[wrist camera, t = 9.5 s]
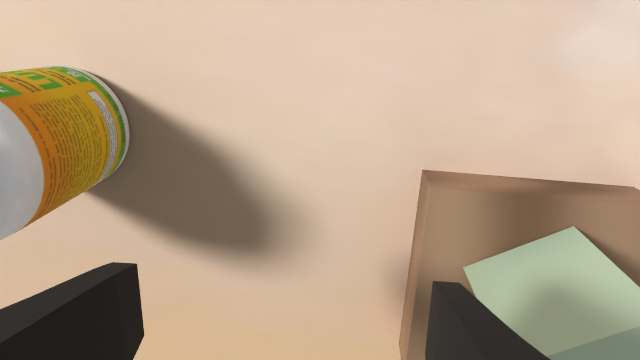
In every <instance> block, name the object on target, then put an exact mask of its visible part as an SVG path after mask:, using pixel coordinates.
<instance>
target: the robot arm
mask: <svg viewBox="0 0 640 360" xmlns="http://www.w3.org/2000/svg"><path fill="white" fill-rule="evenodd" d="M143 337H144V328H143V318H142V309H141V299H140V289H139V280H138V270H137V264H132V263H115V262H113V263H109V264H106V265H103V266H100V267H98V268H95V269H93V270H90V271H88V272H86V273H83V274H81V275H79V276H77V277H74V278H72V279H70V280H68V281H65V282H63V283H61V284H59V285H56V286H54V287H52V288H50V289H47V290H45V291H43V292H41V293H38V294H36V295H34V296H32V297H29V298H27V299H24V300H22V301H19V302H17V303H15V304H12V305H10V306H7V307H5V308H2V309H0V360H133V358H134V356H135V354H136V352H137V350H138V348H139V345H140V343H141V341H142V339H143ZM425 359H426V360H551V359H549V358H548V357H546V356H545V355H544V354H542V353H541V352H540V351H538V350H537V349H536V348H535V347H533V346H532V345H531V344H529V343H528V342H527V341H525V340H524V339H523V338H522V337H520V336H519V335H518V334H517V333H516V332H514V331H513V330H512V329H511V328H510V327H508V326H507V325H506V324H505V323H504V322H503V321H501V320H500V319H499V318H498V317H497V316H496V315H495V314H494V313H492V312H491V311H490V310H489V309H488V308H487V307H486V306H485V305H484V304H483V303H481V302H480V301H479V300H478V299H477V298H476V297H475V296H474V295H473V294H472V293H471V292H470V291H468V290H467V289H466V288H465V287H464V286H463V285H462V284H460V283H459V282H442V281H433V283H432V293H431V302H430V311H429V321H428V330H427V339H426V349H425Z"/></svg>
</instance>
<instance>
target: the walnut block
mask: <svg viewBox="0 0 640 360" xmlns="http://www.w3.org/2000/svg"><path fill="white" fill-rule="evenodd" d="M573 226H574V227H575V228H576V229H577V230H579V231H580V232H581V233H582V234H583V235H584V236H585V237H586V238H587V239H588V240H589V241H590V242H591V243H592V244H594V245H595V246H596V247H597V248H598V249H599V250H600V251H601V252H602V253H603V254H604V255H605V256H606V257H607V258H609V259H610V260H611V261H612V262H613V263H614V264H615V265H616V266H617V267H618V268H619V269H620V270H621V271H622V272H624V273H625V274H626V275H627V276H628V277H629V278H630V279H631V280H632V281H633V282H634V283H635V284H636V285H637V286H639V287H640V190H638V189H636V188H634V187H627V186H615V185H602V184H590V183H578V182H565V181H553V180H541V179H529V178H516V177H504V176H492V175H480V174H467V173H455V172H443V171H430V170H422V177H421V184H420V192H419V199H418V206H417V214H416V221H415V229H414V236H413V243H412V251H411V258H410V266H409V273H408V281H407V288H406V295H405V303H404V310H403V318H402V325H401V333H400V340H399V346H400V354H401V360H426V359H425V349H426V339H427V330H428V321H429V311H430V302H431V293H432V283H433V281H442V282H459V283H460V284H462V285H463V286H464V287H465V288H466V289H467V290H468V291H470V292H471V293H472V294H473V295H474V296H475V294H474V292H473V289H472V287H471V285H470V283H469V280H468V278H467V276H466V273H465V271H464V269H463V267H466V266H468V265H471V264H474V263H476V262H479V261H482V260H484V259H487V258H490V257H493V256H495V255H498V254H501V253H503V252H506V251H509V250H511V249H514V248H517V247H519V246H522V245H525V244H527V243H530V242H533V241H535V240H538V239H541V238H543V237H546V236H549V235H551V234H554V233H557V232H559V231H562V230H565V229H567V228H570V227H573ZM475 297H476V296H475Z"/></svg>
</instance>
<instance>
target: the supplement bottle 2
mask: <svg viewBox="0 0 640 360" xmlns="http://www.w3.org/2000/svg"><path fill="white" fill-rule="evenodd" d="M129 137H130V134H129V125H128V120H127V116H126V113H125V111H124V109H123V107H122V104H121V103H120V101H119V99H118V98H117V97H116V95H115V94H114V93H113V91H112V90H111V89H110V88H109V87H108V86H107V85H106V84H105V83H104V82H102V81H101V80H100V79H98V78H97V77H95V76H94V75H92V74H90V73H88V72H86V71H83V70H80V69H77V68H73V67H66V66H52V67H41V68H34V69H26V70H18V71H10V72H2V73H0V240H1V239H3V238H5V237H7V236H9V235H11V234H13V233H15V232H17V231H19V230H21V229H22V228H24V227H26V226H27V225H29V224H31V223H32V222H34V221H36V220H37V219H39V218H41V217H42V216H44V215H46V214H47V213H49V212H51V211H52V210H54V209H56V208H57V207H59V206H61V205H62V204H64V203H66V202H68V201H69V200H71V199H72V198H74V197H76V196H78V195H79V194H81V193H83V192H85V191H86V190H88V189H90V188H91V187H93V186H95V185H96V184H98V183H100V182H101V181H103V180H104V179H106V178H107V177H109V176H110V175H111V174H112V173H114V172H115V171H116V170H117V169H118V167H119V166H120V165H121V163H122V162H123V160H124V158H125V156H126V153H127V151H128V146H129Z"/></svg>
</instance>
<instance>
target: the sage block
mask: <svg viewBox="0 0 640 360" xmlns="http://www.w3.org/2000/svg"><path fill="white" fill-rule="evenodd" d="M463 269H464V271H465V273H466V276H467V278H468V280H469V283H470V285H471V287H472V289H473V292H474V294H475V296H476V298H477V299H478V300H479V301H480V302H481V303H483V304H484V305H485V306H486V307H487V308H488V309H489V310H490V311H491V312H492V313H494V314H495V315H496V316H497V317H498V318H499V319H500V320H501V321H503V322H504V323H505V324H506V325H507V326H508V327H510V328H511V329H512V330H513V331H514V332H516V333H517V334H518V335H519V336H520V337H522V338H523V339H524V340H525V341H527V342H528V343H529V344H531V345H532V346H533V347H535V348H536V349H537V350H538V351H540V352H541V353H542V354H544V355H545V356H546V357H548V358H549V359H551V360H640V287H639V286H637V285H636V284H635V283H634V282H633V281H632V280H631V279H630V278H629V277H628V276H627V275H626V274H625V273H624V272H622V271H621V270H620V269H619V268H618V267H617V266H616V265H615V264H614V263H613V262H612V261H611V260H610V259H609V258H607V257H606V256H605V255H604V254H603V253H602V252H601V251H600V250H599V249H598V248H597V247H596V246H595V245H594V244H592V243H591V242H590V241H589V240H588V239H587V238H586V237H585V236H584V235H583V234H582V233H581V232H580V231H579V230H577V229H576V228H575V227H574V226H573V227H570V228H567V229H565V230H562V231H559V232H557V233H554V234H551V235H549V236H546V237H543V238H541V239H538V240H535V241H533V242H530V243H527V244H525V245H522V246H519V247H517V248H514V249H511V250H509V251H506V252H503V253H501V254H498V255H495V256H493V257H490V258H487V259H484V260H482V261H479V262H476V263H474V264H471V265H468V266H466V267H463Z"/></svg>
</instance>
